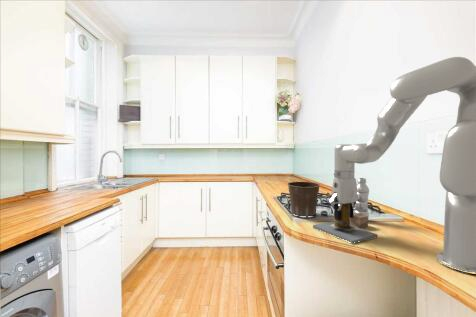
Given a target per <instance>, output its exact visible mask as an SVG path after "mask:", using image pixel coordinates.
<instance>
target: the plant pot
mask: <svg viewBox="0 0 476 317" xmlns="http://www.w3.org/2000/svg"><path fill="white" fill-rule="evenodd" d="M286 185H287V186H288V192H289V203H290V214H291V213H292V214H295V215H298V216H306V217H308V216H313V215H314V214H315V213H317V204H318V194H319V193H320V191H319V190H320V187H321V184H320V183H318V182H313V181H292V182H290V181H289V182H287V184H286ZM292 214H291V215H292ZM298 216H297V217H298Z"/></svg>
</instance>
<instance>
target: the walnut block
mask: <svg viewBox="0 0 476 317" xmlns="http://www.w3.org/2000/svg"><path fill="white" fill-rule="evenodd" d="M350 225H354V226H357V228H360V229H366V228H369V218H368V216H366V215H362V214H359V213H357V214H354V217H353V218H350Z"/></svg>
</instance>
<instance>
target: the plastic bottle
mask: <svg viewBox="0 0 476 317" xmlns="http://www.w3.org/2000/svg"><path fill="white" fill-rule="evenodd" d="M356 183H357V196H358V200H357V202H356V204H355V208H354V214H357V213H359V214H362V215H366V216H368V219H369V217H370V212H369V207H368V201H369V195H370V188H369V187H368V185H367V184H366V183H367V178H366V177H365V178H364V177H358V178H357V180H356Z"/></svg>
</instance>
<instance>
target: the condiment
mask: <svg viewBox="0 0 476 317" xmlns="http://www.w3.org/2000/svg"><path fill="white" fill-rule="evenodd" d="M338 205H339V204H337V206H338ZM341 211H342V220H337V219H335V218H334V217H333V221H334V224H332V225H330V226H333V227H337V228H342V229H345V230H352V229H355V228H357V226H354V225H350V204H349V203H347V204H342V207H341Z"/></svg>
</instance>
